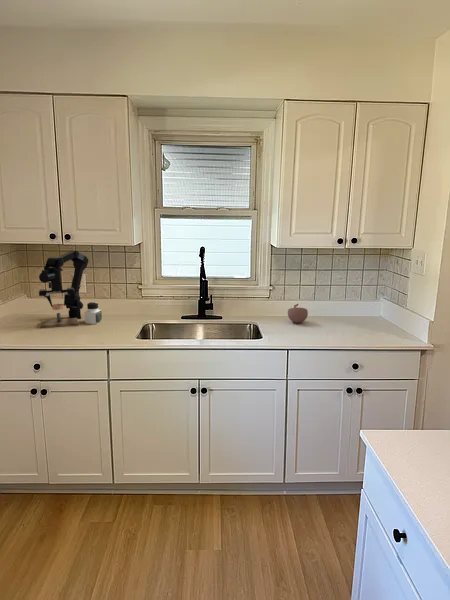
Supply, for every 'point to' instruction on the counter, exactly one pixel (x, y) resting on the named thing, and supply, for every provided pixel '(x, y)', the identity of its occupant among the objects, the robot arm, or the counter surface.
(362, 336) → the counter surface
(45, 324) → the hook board
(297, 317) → the reddish brown apple
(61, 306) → the ring
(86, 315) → the medicine bottle
